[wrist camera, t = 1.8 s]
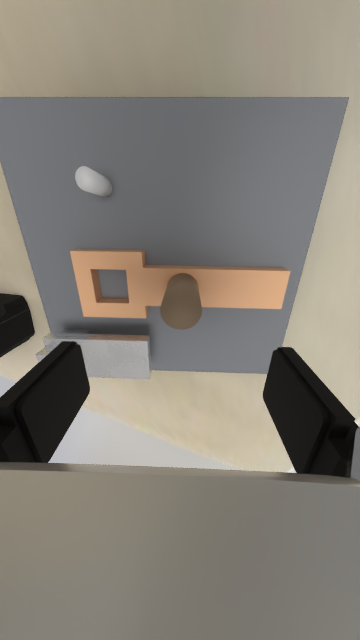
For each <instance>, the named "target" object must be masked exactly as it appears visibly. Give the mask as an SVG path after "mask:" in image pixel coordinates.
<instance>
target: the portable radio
mask: <svg viewBox="0 0 360 640" xmlns="http://www.w3.org/2000/svg"><path fill="white" fill-rule="evenodd" d="M33 335H34V329H33V324H32V320H31V315H30V311H29V308H28V306H27V304H26V302H25V301H24V299H23V298H22V296H18V295H9V294H0V357H2V356H3V355H5V354H6V353H8V352H9V351H11V350H13V349H14V348H16V347H17V346H19V345H21V344H22V343H24V342H26V341H27V340H29V339H30V337H31V336H33Z"/></svg>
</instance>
